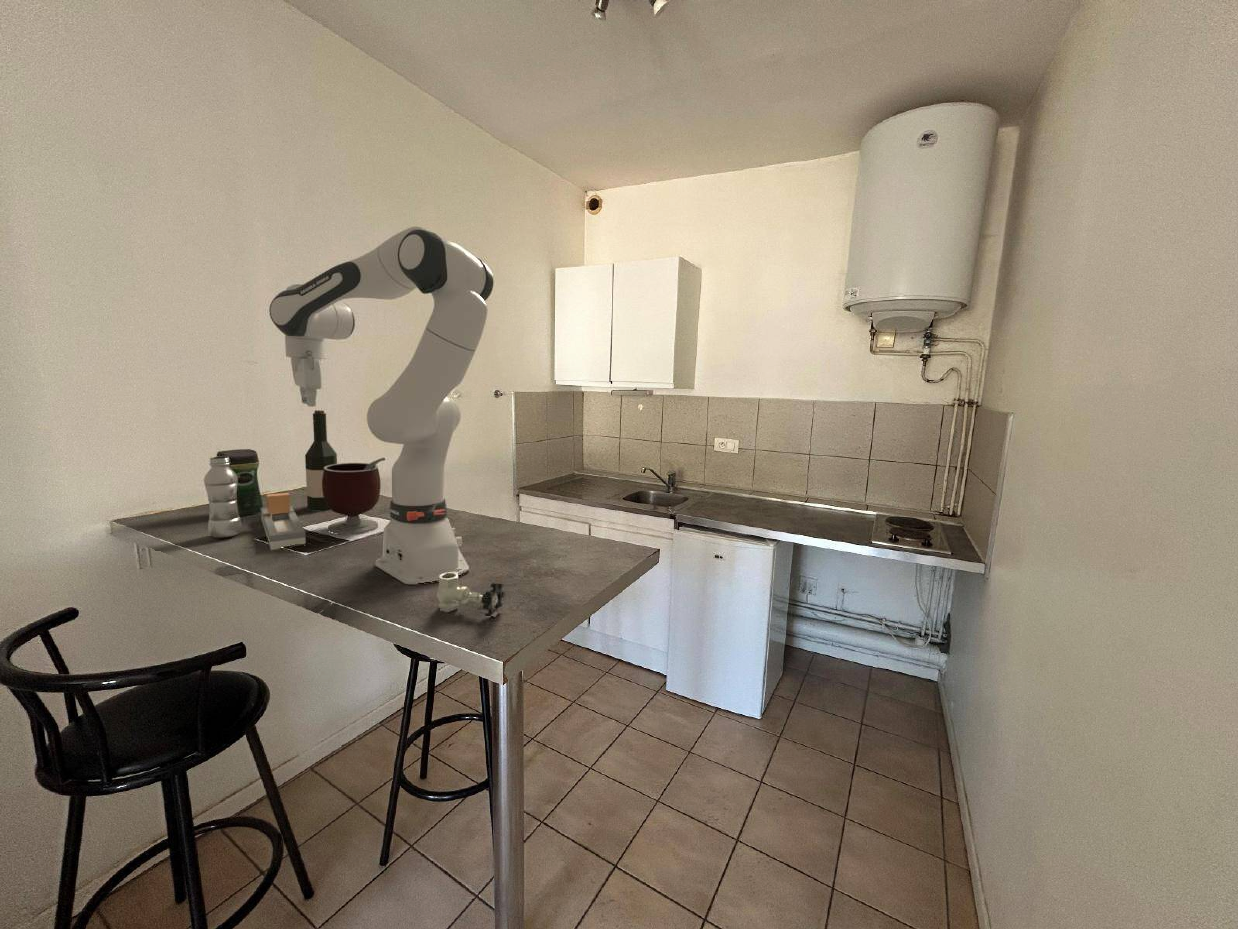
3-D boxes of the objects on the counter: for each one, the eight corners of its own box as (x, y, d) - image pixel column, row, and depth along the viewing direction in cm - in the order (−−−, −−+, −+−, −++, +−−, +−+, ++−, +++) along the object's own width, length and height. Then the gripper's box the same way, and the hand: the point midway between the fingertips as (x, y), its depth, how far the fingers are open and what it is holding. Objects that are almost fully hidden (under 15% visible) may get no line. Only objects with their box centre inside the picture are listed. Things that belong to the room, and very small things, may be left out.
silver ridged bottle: (249, 533, 125) (243, 456, 122) (225, 541, 119) (219, 460, 115) (225, 531, 126) (220, 454, 122) (201, 539, 119) (194, 458, 116)
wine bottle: (336, 503, 158) (332, 409, 153) (341, 509, 151) (337, 412, 146) (305, 505, 152) (300, 409, 147) (309, 512, 146) (305, 411, 141)
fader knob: (290, 518, 132) (289, 494, 131) (269, 521, 129) (267, 496, 128) (289, 515, 135) (288, 492, 134) (268, 518, 132) (266, 494, 131)
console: (305, 545, 120) (305, 531, 119) (270, 550, 115) (269, 535, 115) (291, 516, 141) (290, 504, 140) (261, 520, 136) (260, 507, 136)
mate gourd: (314, 535, 127) (310, 459, 123) (337, 520, 140) (334, 451, 137) (377, 536, 129) (375, 461, 126) (394, 521, 142) (393, 453, 139)
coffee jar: (256, 507, 148) (252, 446, 144) (266, 512, 143) (262, 450, 140) (216, 513, 140) (211, 449, 137) (226, 519, 135) (220, 452, 132)
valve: (428, 614, 90) (487, 625, 87) (428, 580, 89) (488, 591, 86) (448, 599, 96) (504, 609, 93) (448, 567, 95) (505, 577, 92)
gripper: (327, 352, 120) (329, 408, 123) (314, 352, 136) (316, 402, 138) (296, 349, 116) (299, 407, 119) (287, 350, 132) (289, 402, 134)
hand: (308, 405), depth 129 cm, fingers open, 8 cm apart
